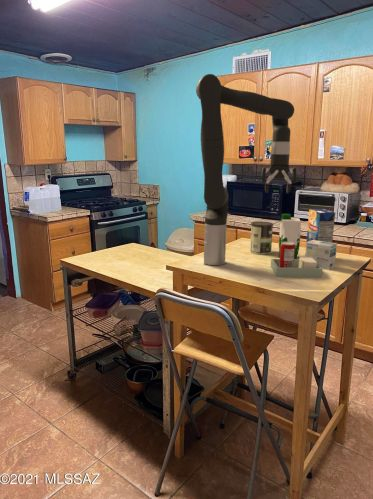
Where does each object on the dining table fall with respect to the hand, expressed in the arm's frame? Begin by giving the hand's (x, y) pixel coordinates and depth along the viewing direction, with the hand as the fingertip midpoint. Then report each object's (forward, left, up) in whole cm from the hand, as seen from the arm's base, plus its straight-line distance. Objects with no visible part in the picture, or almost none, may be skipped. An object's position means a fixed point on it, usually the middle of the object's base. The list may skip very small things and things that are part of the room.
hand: (277, 192), depth 164 cm
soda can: (+2, -17, -30) cm, 34 cm away
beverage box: (+21, +5, -30) cm, 37 cm away
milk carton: (+8, +6, -30) cm, 32 cm away
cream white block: (+10, -17, -30) cm, 36 cm away
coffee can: (-3, +16, -30) cm, 34 cm away
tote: (+6, -17, -30) cm, 35 cm away
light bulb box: (+18, -8, -30) cm, 36 cm away
